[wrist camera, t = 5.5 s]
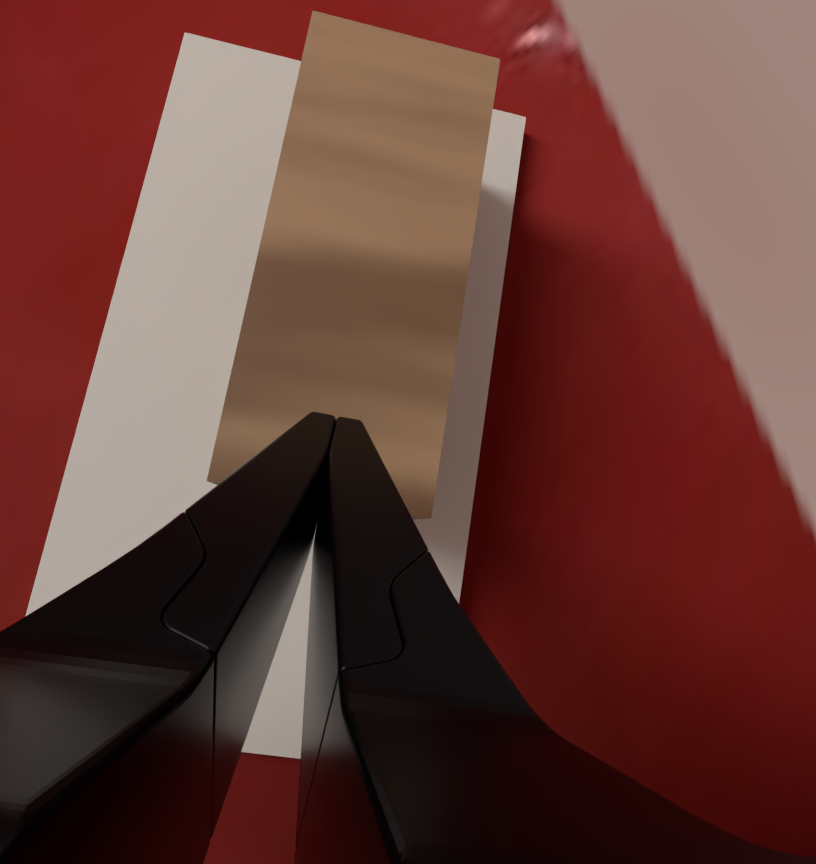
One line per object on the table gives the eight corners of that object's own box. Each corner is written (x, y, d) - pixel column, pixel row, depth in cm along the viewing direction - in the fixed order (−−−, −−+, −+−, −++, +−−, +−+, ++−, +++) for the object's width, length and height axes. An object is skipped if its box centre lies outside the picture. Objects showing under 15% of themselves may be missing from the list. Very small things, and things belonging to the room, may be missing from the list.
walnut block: (431, 518, 11) (500, 59, 14) (206, 480, 11) (312, 10, 13) (403, 520, 16) (458, 173, 18) (241, 493, 15) (316, 140, 17)
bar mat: (431, 765, 16) (435, 774, 15) (10, 715, 14) (-4, 723, 14) (519, 129, 19) (525, 117, 19) (189, 48, 18) (185, 32, 17)
